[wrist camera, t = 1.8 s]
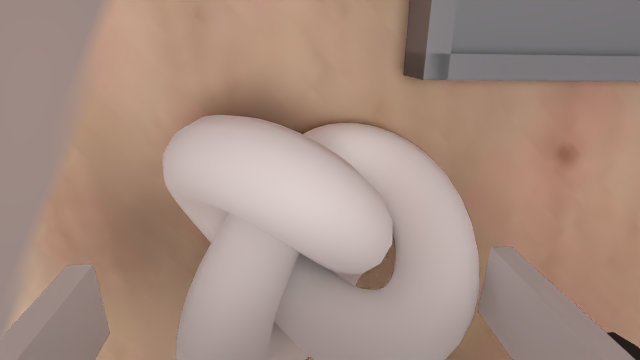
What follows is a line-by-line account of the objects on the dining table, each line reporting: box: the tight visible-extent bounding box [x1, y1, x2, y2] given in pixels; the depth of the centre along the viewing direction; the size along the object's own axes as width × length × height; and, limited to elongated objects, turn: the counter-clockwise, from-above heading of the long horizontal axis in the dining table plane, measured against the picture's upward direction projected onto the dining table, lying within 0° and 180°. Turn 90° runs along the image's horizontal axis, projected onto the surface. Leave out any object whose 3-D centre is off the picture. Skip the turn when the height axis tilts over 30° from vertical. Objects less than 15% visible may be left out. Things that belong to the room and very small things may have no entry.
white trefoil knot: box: [162, 115, 480, 360], centre depth 15 cm, size 11×12×9 cm
